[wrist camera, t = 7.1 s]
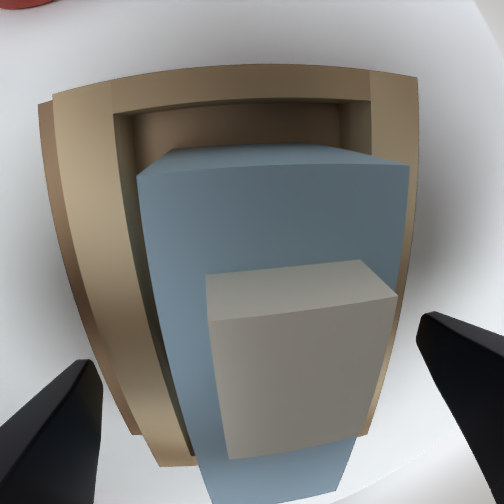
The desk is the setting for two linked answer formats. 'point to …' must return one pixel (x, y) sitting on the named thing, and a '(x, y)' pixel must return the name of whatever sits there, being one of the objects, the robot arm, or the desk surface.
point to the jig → (186, 136)
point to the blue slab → (274, 305)
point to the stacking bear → (20, 3)
